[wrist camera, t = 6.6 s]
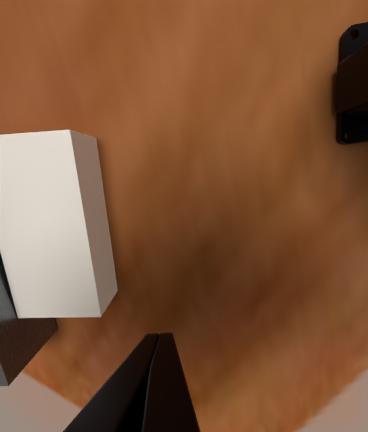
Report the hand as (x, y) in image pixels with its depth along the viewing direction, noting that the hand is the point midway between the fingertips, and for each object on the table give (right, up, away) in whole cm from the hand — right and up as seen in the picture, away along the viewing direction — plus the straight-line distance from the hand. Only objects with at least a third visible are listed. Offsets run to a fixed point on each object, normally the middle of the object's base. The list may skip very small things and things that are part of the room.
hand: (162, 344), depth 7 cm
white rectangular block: (-8, +4, +10) cm, 13 cm away
